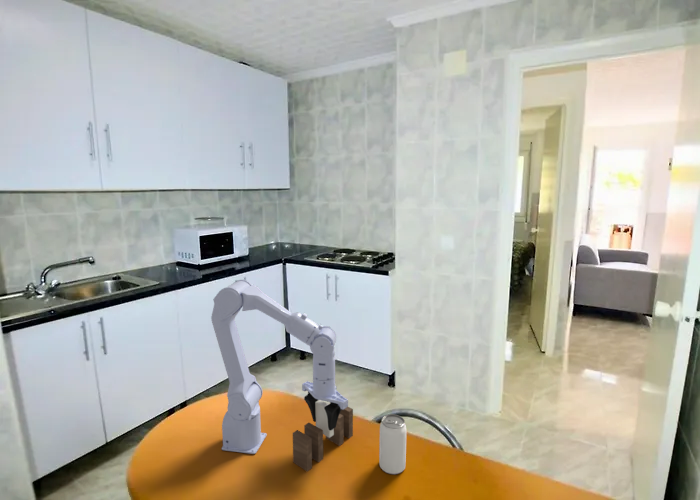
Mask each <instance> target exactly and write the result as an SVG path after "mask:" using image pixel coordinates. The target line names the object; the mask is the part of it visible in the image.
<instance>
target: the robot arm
mask: <svg viewBox="0 0 700 500" xmlns="http://www.w3.org/2000/svg"><path fill="white" fill-rule="evenodd" d="M241 309H242V310H241ZM253 310H257V311H259V312H261V313H263V314H265V315H266V316H269V317H270V318H272V319H273V320H275V321H276V322H279V323H280V324H283V325H284V328H285V330H286V333H288V334H290V335H291V336H293V337H295V338H296V339H298V340H299V341H301V342H302V343H303V344H306V345H307V346H309V349H310V351H311V353H312V382H311V381H308V380H306V381H305V382H302V384H301V391H302V392H307V394H306V395H305V396H304V397H303V400H304V401H305V403H306V404H307V406H308V409H309V411H310V414H311V417H312V421H313V422H314V423H316V412H315V402H316V401H318V400H322V401H324V402H326V403H328V402H329V403H328V404H329V405H327V406H325V407H324V409H325V411H326V414H327V418H328V428H329V430H332V429H334V428H335V427H336V424H337V420H338V417H339V414H340V412H341V410H344V409H345V408H347V407H349V399H348V398H346V397H345V396H344V395H342V394H341V393H340V392H339V391H338V390H337V386H336V357H335V355H336V354H335V353H336V352H335V344H336V343H337V334H336V332H335V331H334V329H333V328H331V327H330V326H328V325H322V324H321V323H320V324H318V323H317V322H315V321H314V320H312V319H311V318H309V317H308V316H309V315H308V314H307V313H305V312H303V313H301V311H299V312H291V311H290V310H288V309H287V308H286V307H284V306H282V305H281V304H280V303H279V302H278V301H275V300H274V299H273V298H272V297H270V296H268V295H267V294H266V293H265V292H263V291H262V290H261V289H260V288H259V287H258V285H255V284H252V283H251V282H250V281H248V280H246V279H238V280H236V281H235V282H233V283H231V284H230V285H228V286H227V287H224V288H222V289H220V290H219V291H218V292H217V294H216V296H214V297H213V309H212V313H211V316H210V319H211V323H212V326H213V327H212V328H213V329H214V330H213V331H214V334H215V337H216V340H217V343H218V348H219V351H220V354H221V358H222V361H223V363H224V369H225V371H226V374H227V375H226V376H227V379H228V382H229V385H228V390H227V394H226V397H227V399H228V400H227V401H228V403H227V411H226V412H225V414H224V416H223V419H222V424H221V431H222V447H221V450H222V451H227V452H237V453H243V454H252V455H255V454H257V452H258V451H259V449H260V447H261V445H262V444H263V442H264V440H265V439H266V437H267V435H268V434H267V433H266V432H262V424H261V407H260V405H259V404H260V402H259V401H260V400H261V399H262V397H263V393H264V392H263V391H264V390H263V388H262V386H261V384H259V382H258V381H257V379H256V376H255V375H253V374H252V373H250V368H249V365H248V363H247V358H246V356H245V351H244V349H243V345H242V341H241V338H240V334H239V330H238V327H237V323H236V320H235V319H236V317H237V315H238V314H239V313H240V311H242V312H247V311H253Z"/></svg>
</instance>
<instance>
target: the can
mask: <svg viewBox="0 0 700 500" xmlns="http://www.w3.org/2000/svg"><path fill="white" fill-rule="evenodd" d="M378 449H379V453H378V454H379V457H378V458H379V463H378V464H379V467H380V469H382V471H383V472H385V473H386V474H389V475H398V474H401V473H402V472H403V471H404V470H406V463H407V462H406V460H407V459H406V458H407V457H406V456H407V455H406V454H407V426H406V421H405V419H404V417H402V416H401V415H397V414H395V413H393V414H389V413H388V414H386V415H384V416H383V417H382V418H381V422H380V424H379V448H378Z"/></svg>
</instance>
